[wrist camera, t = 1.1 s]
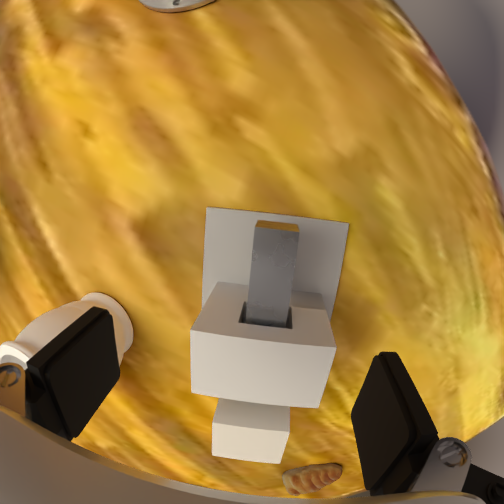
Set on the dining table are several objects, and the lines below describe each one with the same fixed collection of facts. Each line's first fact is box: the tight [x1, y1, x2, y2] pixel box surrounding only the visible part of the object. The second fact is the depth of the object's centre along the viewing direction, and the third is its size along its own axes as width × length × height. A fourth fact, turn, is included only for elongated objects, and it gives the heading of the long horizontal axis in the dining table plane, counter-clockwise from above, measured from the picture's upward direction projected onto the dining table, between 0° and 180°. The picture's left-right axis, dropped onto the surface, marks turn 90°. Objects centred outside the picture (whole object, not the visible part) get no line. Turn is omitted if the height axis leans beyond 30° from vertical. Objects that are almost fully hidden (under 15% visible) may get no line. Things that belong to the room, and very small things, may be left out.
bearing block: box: [190, 207, 349, 408], centre depth 25 cm, size 20×13×10 cm, turn 174°
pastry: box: [282, 463, 342, 496], centre depth 35 cm, size 9×7×4 cm
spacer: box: [212, 398, 290, 464], centre depth 22 cm, size 5×6×4 cm
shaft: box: [245, 220, 300, 328], centre depth 24 cm, size 20×3×3 cm, turn 174°
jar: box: [0, 292, 133, 370], centre depth 25 cm, size 11×10×15 cm
